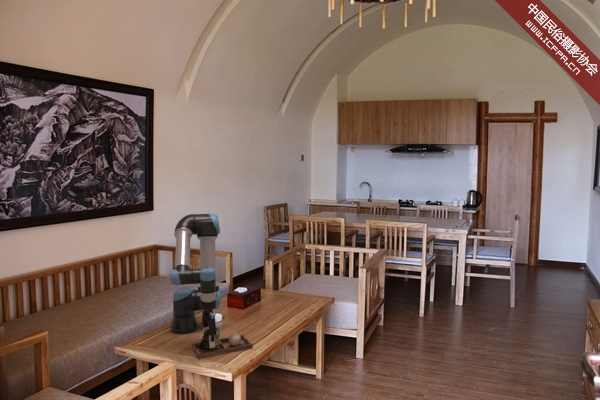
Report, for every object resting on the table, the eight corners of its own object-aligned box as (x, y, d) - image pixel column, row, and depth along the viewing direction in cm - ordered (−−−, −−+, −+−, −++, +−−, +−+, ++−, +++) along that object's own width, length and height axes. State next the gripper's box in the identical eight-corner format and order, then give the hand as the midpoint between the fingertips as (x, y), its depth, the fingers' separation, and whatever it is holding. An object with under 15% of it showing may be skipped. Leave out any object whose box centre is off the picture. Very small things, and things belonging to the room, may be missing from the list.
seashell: (196, 345, 247) (196, 326, 246) (219, 343, 251) (218, 324, 249) (199, 354, 237) (198, 334, 236) (222, 351, 241) (222, 331, 239)
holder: (191, 349, 247) (191, 344, 247) (243, 339, 259) (243, 334, 259) (199, 360, 235) (199, 354, 234) (252, 349, 247) (252, 344, 246)
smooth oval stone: (226, 344, 251) (226, 332, 251) (238, 342, 254) (238, 329, 254) (230, 349, 245) (230, 336, 245) (243, 346, 248) (242, 334, 248)
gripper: (194, 295, 250) (195, 337, 252) (207, 307, 230) (208, 353, 232) (209, 293, 253) (210, 334, 255) (222, 305, 233) (223, 350, 235)
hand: (209, 343), depth 244 cm, fingers closed on seashell, 10 cm apart
